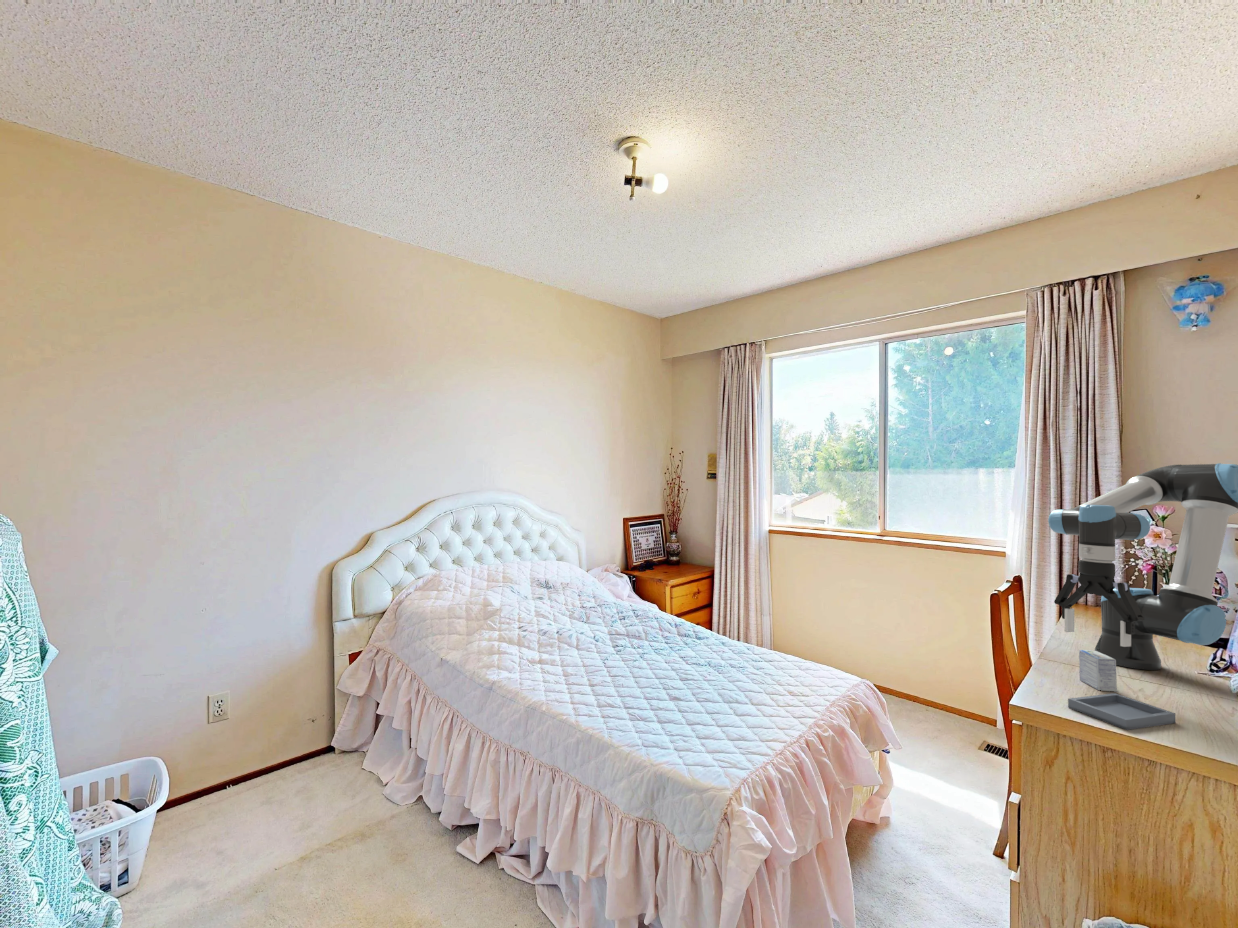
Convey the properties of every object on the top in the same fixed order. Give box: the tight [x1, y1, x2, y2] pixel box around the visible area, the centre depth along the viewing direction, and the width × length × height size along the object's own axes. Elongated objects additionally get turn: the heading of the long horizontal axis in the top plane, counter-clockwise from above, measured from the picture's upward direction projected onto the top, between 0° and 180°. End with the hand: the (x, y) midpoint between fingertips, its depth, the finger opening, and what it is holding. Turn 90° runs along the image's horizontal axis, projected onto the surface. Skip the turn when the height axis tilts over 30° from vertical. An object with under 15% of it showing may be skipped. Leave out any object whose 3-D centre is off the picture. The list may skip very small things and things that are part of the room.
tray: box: [1067, 692, 1177, 731], centre depth 126 cm, size 16×12×2 cm
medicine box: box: [1078, 649, 1118, 693], centre depth 145 cm, size 8×4×9 cm, turn 168°
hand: (1096, 638), depth 145 cm, fingers open, 13 cm apart
